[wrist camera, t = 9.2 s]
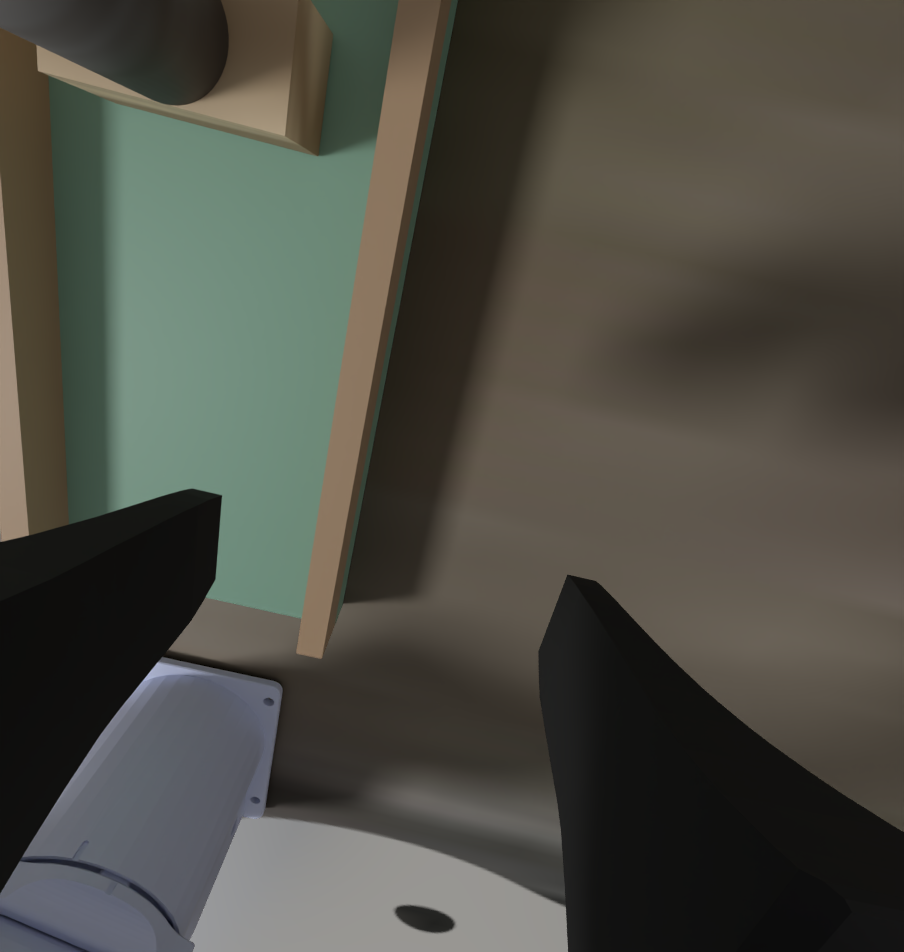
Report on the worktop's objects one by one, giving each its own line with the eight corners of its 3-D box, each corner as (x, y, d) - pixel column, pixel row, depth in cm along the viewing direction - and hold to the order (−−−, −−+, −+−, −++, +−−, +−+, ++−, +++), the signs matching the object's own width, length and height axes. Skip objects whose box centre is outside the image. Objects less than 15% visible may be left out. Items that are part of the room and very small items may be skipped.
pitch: (342, 604, 24) (281, 762, 16) (71, 544, 23) (-119, 680, 16) (566, -568, 12) (719, -1982, 4) (14, -753, 11) (-904, -2755, 4)
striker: (318, 156, 16) (181, 72, 9) (115, 103, 16) (-208, -33, 8) (333, 34, 15) (189, -185, 7) (114, -26, 15) (-261, -316, 7)
